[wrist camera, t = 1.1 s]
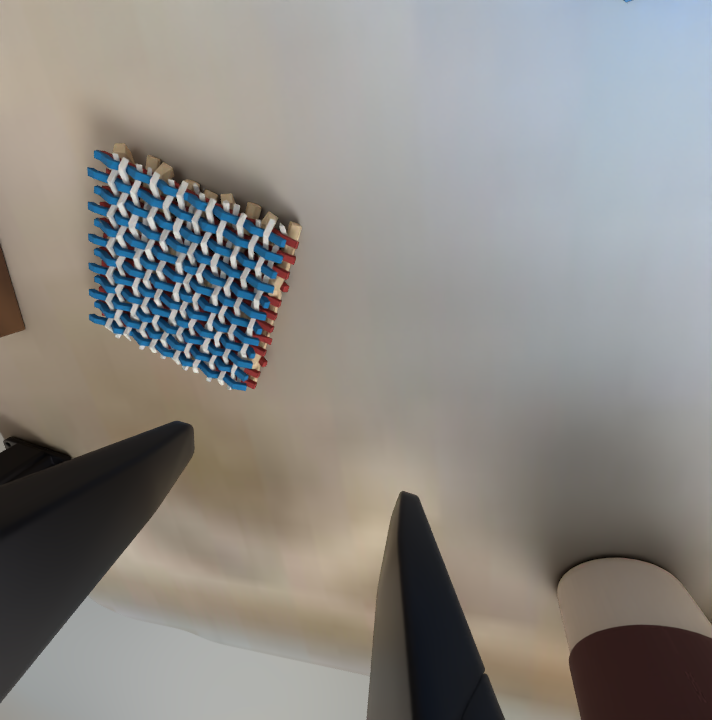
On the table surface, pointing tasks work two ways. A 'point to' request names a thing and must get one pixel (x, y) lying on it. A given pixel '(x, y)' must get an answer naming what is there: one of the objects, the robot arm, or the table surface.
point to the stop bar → (8, 303)
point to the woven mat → (187, 269)
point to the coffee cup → (635, 643)
